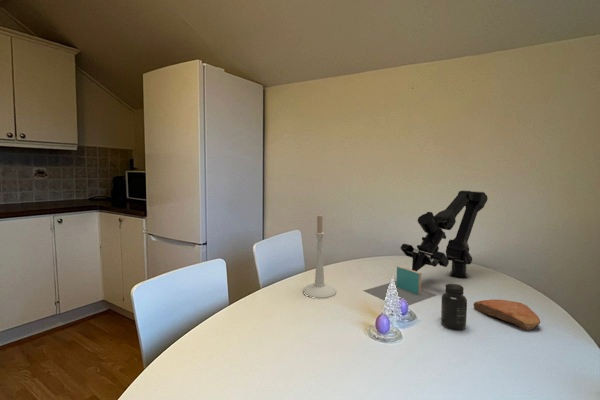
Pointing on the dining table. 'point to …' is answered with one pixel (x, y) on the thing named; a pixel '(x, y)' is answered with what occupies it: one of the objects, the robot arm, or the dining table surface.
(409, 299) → the mat
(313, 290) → the candlestick
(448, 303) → the supplement bottle
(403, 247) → the robot arm
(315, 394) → the dining table surface
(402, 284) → the tile
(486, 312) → the ceramic shard
